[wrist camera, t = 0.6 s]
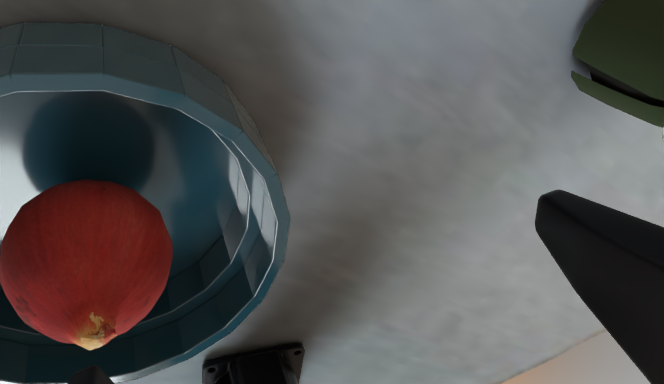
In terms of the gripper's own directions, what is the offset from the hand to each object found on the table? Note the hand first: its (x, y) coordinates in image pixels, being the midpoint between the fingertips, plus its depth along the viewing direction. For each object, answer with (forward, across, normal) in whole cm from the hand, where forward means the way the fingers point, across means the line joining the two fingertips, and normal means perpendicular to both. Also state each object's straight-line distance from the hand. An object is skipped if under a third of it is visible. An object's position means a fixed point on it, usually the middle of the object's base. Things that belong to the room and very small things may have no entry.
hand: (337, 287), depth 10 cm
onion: (+14, +7, +5) cm, 16 cm away
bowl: (+14, +7, +5) cm, 17 cm away
